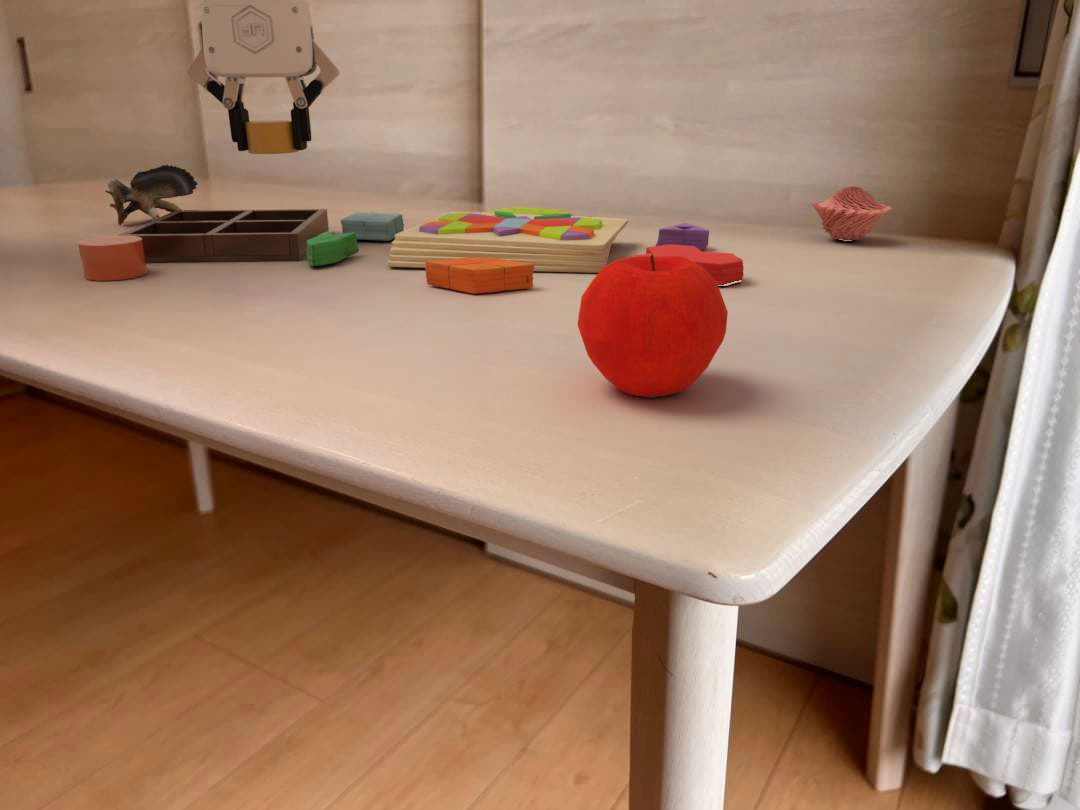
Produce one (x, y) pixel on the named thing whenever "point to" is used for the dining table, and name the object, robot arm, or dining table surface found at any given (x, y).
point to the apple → (652, 323)
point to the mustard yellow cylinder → (270, 137)
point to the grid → (230, 235)
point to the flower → (850, 213)
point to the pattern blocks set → (509, 246)
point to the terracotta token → (112, 258)
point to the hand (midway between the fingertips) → (273, 147)
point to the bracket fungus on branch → (151, 191)
